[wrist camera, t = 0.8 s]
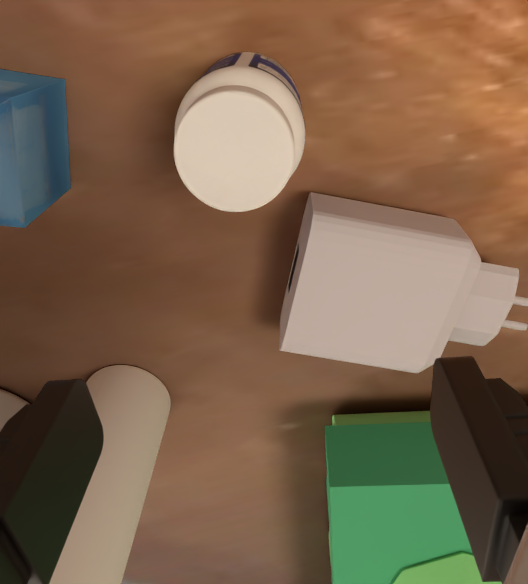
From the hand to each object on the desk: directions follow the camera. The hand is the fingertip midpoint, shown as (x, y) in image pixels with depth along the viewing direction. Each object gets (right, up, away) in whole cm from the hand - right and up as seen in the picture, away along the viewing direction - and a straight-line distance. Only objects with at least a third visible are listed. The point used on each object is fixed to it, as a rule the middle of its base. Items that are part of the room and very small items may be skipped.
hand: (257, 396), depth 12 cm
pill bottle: (-1, +13, +16) cm, 21 cm away
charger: (+9, +4, +21) cm, 23 cm away
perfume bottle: (-14, +12, +17) cm, 25 cm away
